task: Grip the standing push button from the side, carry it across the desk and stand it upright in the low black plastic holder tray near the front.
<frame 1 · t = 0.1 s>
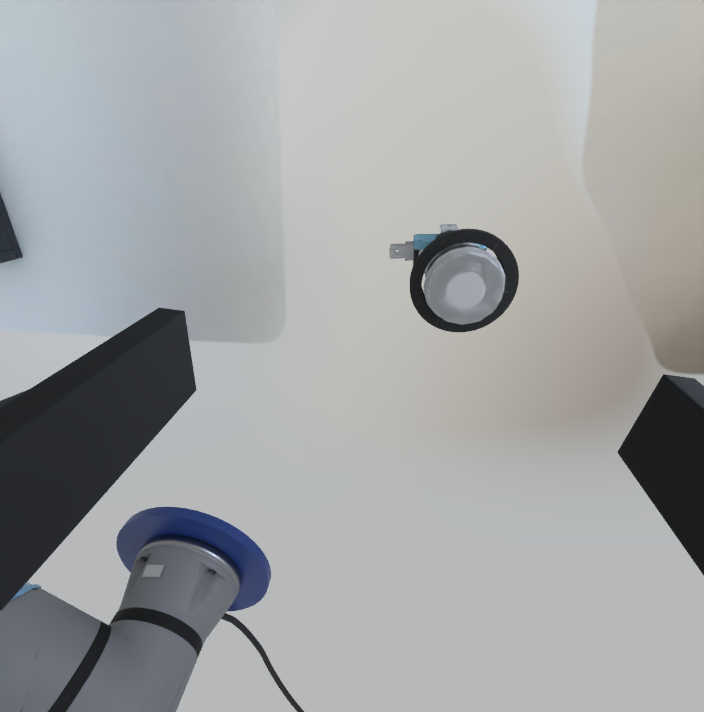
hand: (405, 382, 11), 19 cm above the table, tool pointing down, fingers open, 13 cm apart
push button: (436, 245, 27), on the table
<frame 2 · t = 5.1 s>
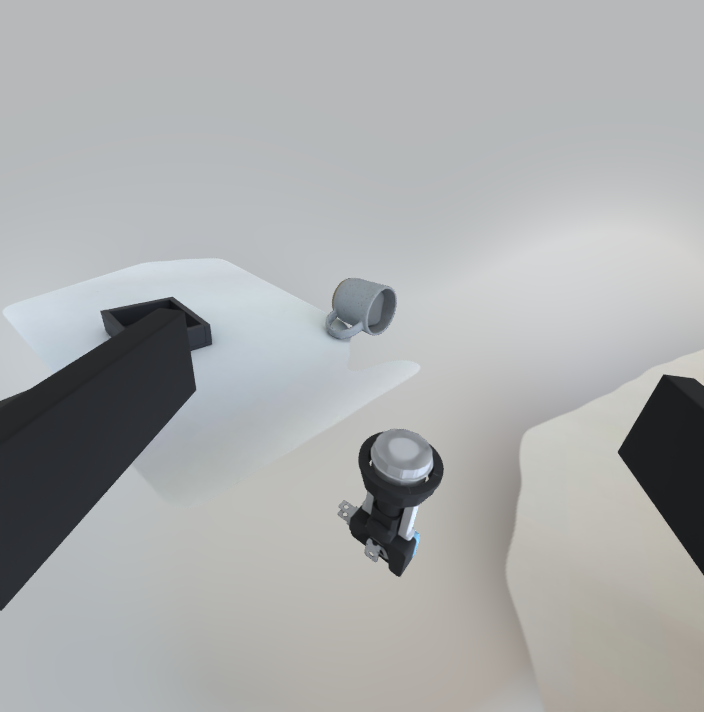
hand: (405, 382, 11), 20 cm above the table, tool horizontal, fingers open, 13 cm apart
ceramic mug: (356, 329, 59), on the table
holder: (158, 337, 51), on the table
push button: (374, 541, 28), on the table
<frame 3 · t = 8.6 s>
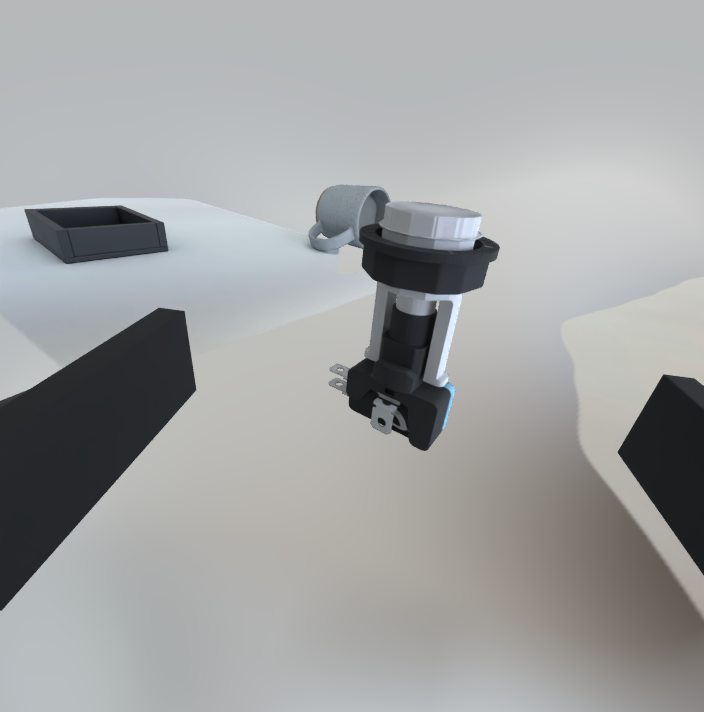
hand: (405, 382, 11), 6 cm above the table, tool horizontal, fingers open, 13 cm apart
ceramic mug: (345, 247, 50), on the table
holder: (101, 244, 41), on the table
push button: (383, 416, 19), on the table
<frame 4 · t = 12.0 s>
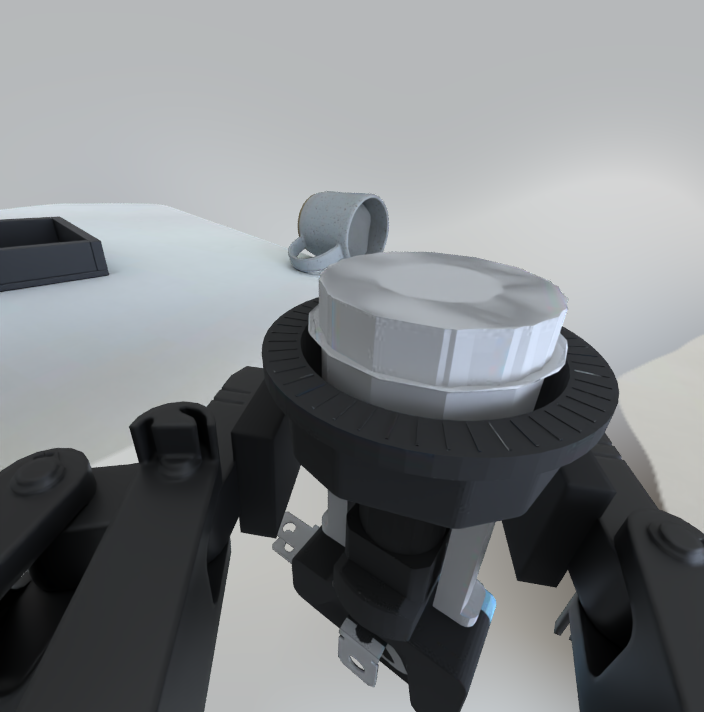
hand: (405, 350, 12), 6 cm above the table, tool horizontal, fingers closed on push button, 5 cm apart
ceramic mug: (333, 265, 42), on the table
holder: (24, 266, 33), on the table
push button: (365, 613, 11), on the table, touching gripper
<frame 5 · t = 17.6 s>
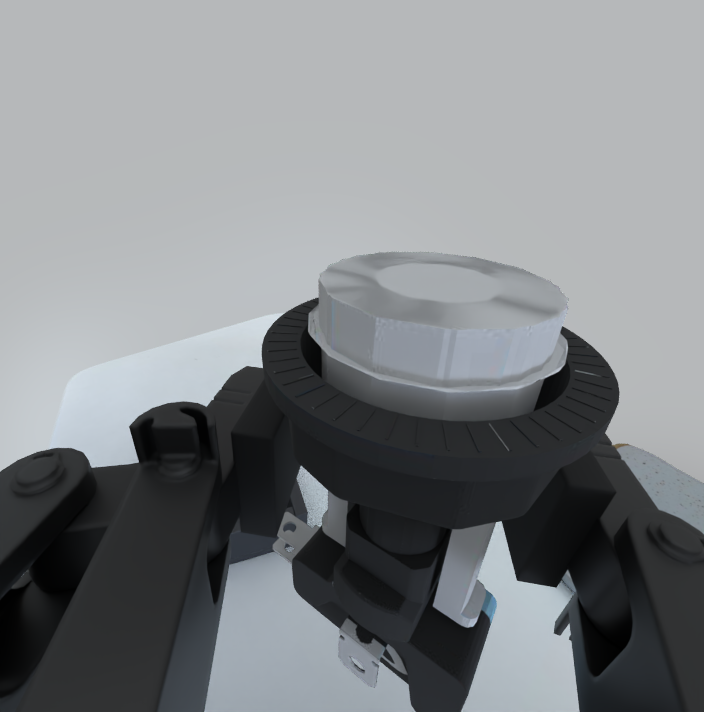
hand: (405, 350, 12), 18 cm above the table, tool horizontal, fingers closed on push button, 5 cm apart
ceramic mug: (616, 563, 26), on the table
holder: (225, 492, 28), on the table
push button: (366, 613, 11), point 12 cm above the table, touching gripper
when the fingers open (6 cm above the table, at t = 23.6 s): push button stays where it is, resting on holder.
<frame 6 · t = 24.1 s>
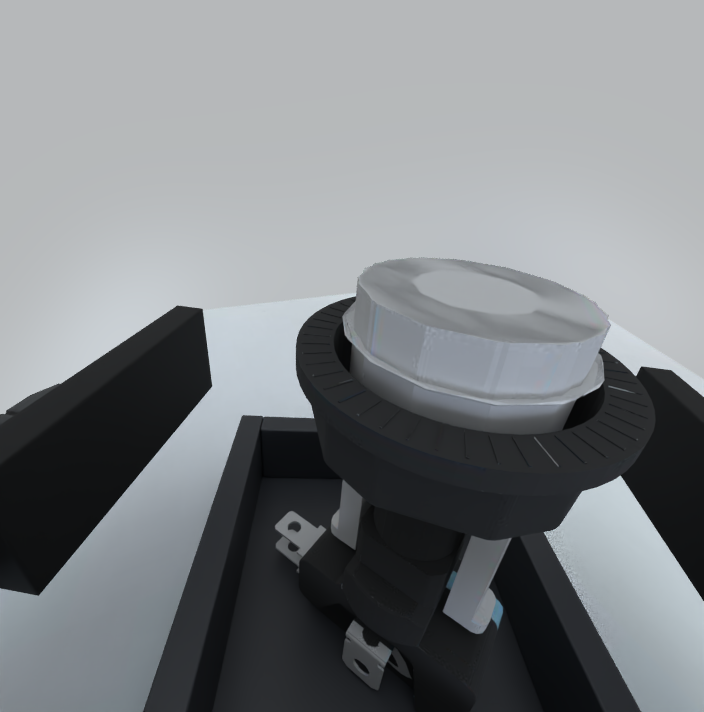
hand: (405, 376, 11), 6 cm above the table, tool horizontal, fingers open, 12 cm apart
holder: (372, 624, 11), on the table
push button: (368, 615, 11), resting on holder
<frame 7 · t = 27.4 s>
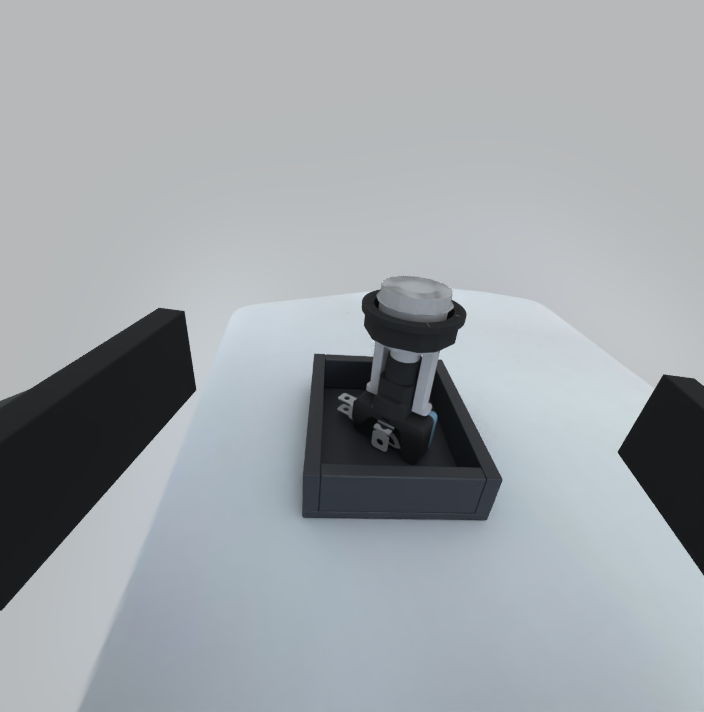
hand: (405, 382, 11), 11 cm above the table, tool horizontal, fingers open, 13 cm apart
holder: (383, 440, 24), on the table
push button: (381, 436, 24), resting on holder
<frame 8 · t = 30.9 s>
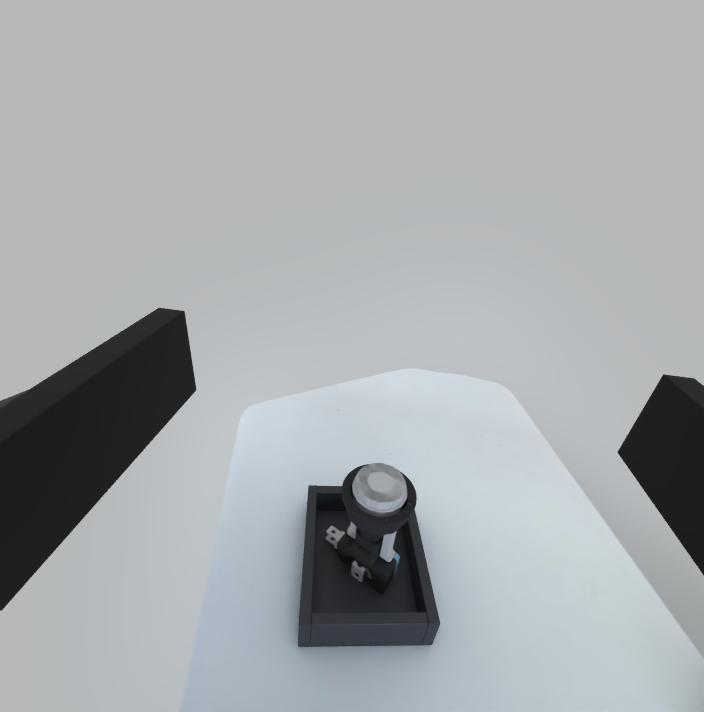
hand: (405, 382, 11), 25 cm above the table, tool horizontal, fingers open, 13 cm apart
holder: (360, 565, 31), on the table
push button: (359, 562, 31), resting on holder
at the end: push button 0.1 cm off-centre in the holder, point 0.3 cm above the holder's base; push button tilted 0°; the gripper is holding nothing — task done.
